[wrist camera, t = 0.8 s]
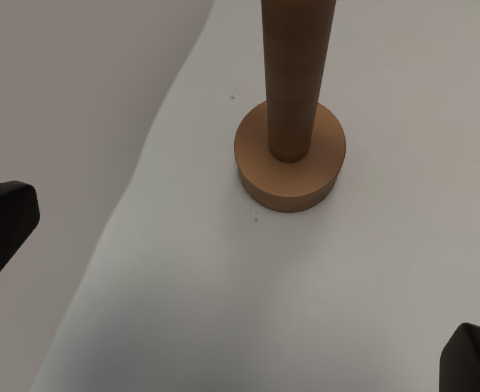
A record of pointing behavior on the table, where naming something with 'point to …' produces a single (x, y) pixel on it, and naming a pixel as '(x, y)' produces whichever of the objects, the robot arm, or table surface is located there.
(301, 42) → the wooden knob stand
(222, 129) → the table surface
